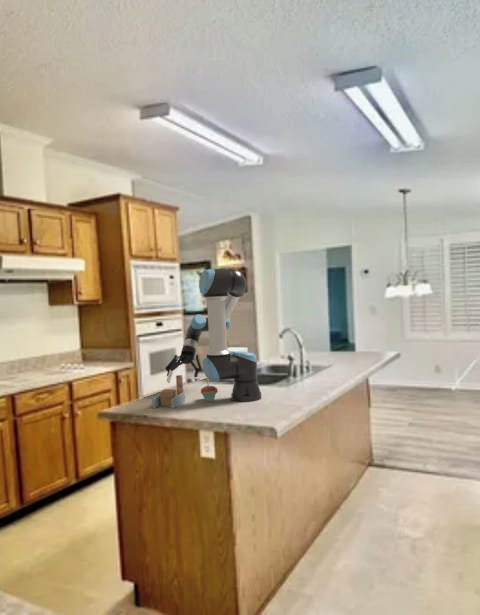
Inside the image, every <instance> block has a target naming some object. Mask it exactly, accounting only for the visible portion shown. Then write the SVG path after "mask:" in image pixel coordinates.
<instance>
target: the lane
mask: <svg viewBox="0 0 480 615" xmlns="http://www.w3.org/2000/svg"><path fill="white" fill-rule="evenodd" d="M185 401H186V394H185V392H183V393H181V394H179V395H177V396H176V397H174V398H172V399H171V407H170V408H171V410H174V409H176V408H177V407H179V406H181V405H183V402H184V403H185ZM151 403H152V405H151V406H152V409H156V408H158V407H161V401H160V394H159V395H156V396H155V397H153V398H152V399H151ZM180 404H181V405H180ZM178 405H179V406H178ZM175 407H176V408H175Z"/></svg>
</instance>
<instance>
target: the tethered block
mask: <svg viewBox="0 0 480 615" xmlns="http://www.w3.org/2000/svg"><path fill="white" fill-rule="evenodd" d="M175 379H176V380H175V383H176V389H175V388H174V389H171V388H170V389H168V388H165V389H163V390H161V391H159V393H160V394H159V395H160V401H161V405H160V407H167V406H171V399H172V398H174V397H176V396H177V395H179V394H181V393H184V386H183V385H184V384H183V382H184V381H183V374H179V375H178V374H177V375H176V376H175Z"/></svg>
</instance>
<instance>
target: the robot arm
mask: <svg viewBox="0 0 480 615" xmlns="http://www.w3.org/2000/svg"><path fill="white" fill-rule="evenodd" d="M198 281H199V283H198V285H199V286H198V288H199V289H198V290H199V292H200V294H202V295H203V298H204V300H206V302H207V306H206V307H207V317H205V316H204V315H202V314H200V313H199V314H196V315H194V316H193V317H192V319H191V321H190V324H189V326H188V328H187V330H186V334H185V339H184V342H183V346H182V348H181V350H180V355H178V354H175V355H174V357H173V358H172V360H171V361H170V362H169V363H168V364H167V365H166V366H165V368H164V369H165V370H166V372H167V373H166V376H167V379H166V381H167V383H168V384H171V380H172V376H173V371H175V370H176V369H177V368H179V366H182V365H189V364H190V365H191V366H192V368H193V371H192V375H191V380H190V381H191V383H192V384H194V383H195V380H196V378H197V377H198V375H199V372H204V376H205V377H206V380H207V379H208V381H210V382H219V381H222V380H229V379H234V381H233V386H232V392H231V393H230V394H231V395H230V397H231V400H232V401H236V402H253V401H254V402H255V401H257V400H260V399H262V397H263V396H262V392H261V390H260V386H259V383H258V365H257V364H258V361H257V355H256V354H255V353H253V352H249V351H248V352H233V355H231V354H230V351H229V350H228V349H227V348H228V340H227V338H228V336H227V330H229V329H230V328H231V319H230V317H231V316H232V313H233V311H234V309H235V308H236V306H237V304H238V301H239V300H240V298H241V297H242V296H244V295H245V293H246V290H247V280H246V277H245V276H244V274H243V273H242V272H241V271H239V270H238V269H236V268H209V269H204V270H203V271H202V272H201V274H200V277H199V280H198ZM204 332H208V341H209V342H208V343H209V344H208V346H209V348H208V349H209V350H208V351H207V352H206V357H204V358H203V360H202V366H201V362H200V359H201V358H200V356H199V355H198V354H196V352H197V349H198V344H199V340H200V337H201V336H202V333H204ZM194 360H195V361H196V363H197V366H196V364H195V362H194Z"/></svg>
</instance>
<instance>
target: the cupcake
mask: <svg viewBox="0 0 480 615" xmlns="http://www.w3.org/2000/svg"><path fill="white" fill-rule="evenodd" d="M209 381H210V380H208V379H207V378H206V382H207V385H206V386H204V387H202V388H201V389H200V394H201V395H202V397H203V399H204V401H205V402H212V401H215V398H216V395H217V393H218V392H219V391H218V388H217V387H216V386H215V385H210V383H209Z"/></svg>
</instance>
